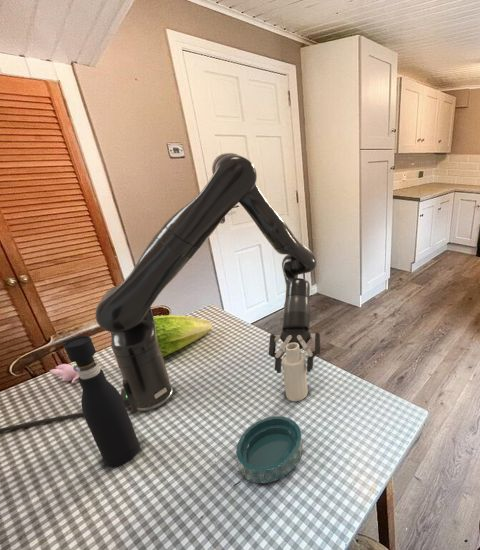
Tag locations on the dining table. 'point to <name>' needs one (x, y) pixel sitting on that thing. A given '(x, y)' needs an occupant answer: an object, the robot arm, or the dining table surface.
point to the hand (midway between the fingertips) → (293, 372)
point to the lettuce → (179, 331)
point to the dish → (269, 449)
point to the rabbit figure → (66, 372)
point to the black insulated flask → (102, 406)
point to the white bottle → (294, 373)
